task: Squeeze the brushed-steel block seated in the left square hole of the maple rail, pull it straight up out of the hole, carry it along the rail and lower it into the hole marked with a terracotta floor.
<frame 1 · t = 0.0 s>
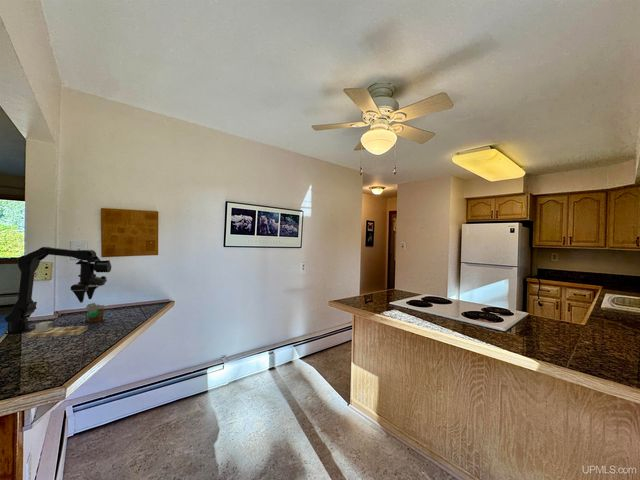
hand: (85, 300, 147), 15 cm above the table, tool pointing down, fingers open, 9 cm apart
rail: (58, 333, 136), on the table
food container: (92, 322, 158), on the table
nut block: (44, 334, 134), resting in rail
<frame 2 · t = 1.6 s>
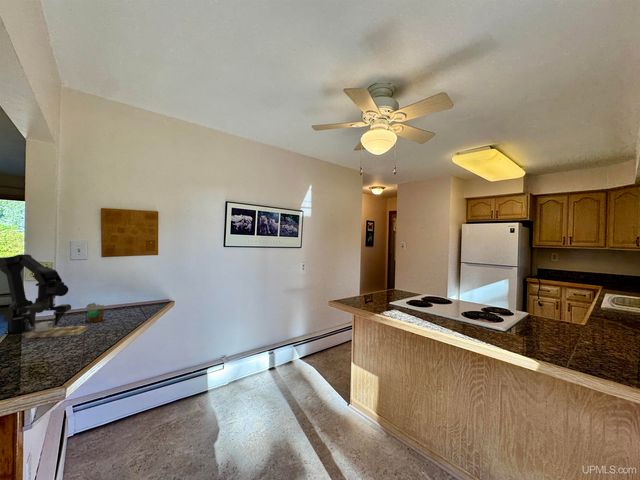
hand: (44, 326, 134), 4 cm above the table, tool pointing down, fingers open, 9 cm apart
nothing on the table moved.
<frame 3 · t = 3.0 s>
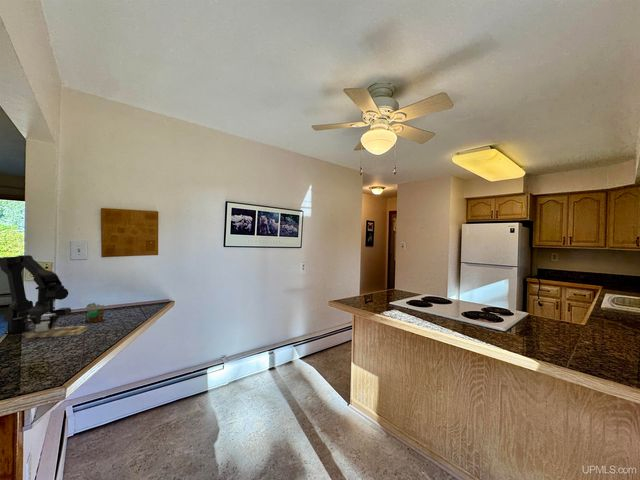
hand: (44, 329, 134), 3 cm above the table, tool pointing down, fingers closed on nut block, 5 cm apart
nut block: (44, 334, 134), resting in rail, touching gripper
everything else where it was.
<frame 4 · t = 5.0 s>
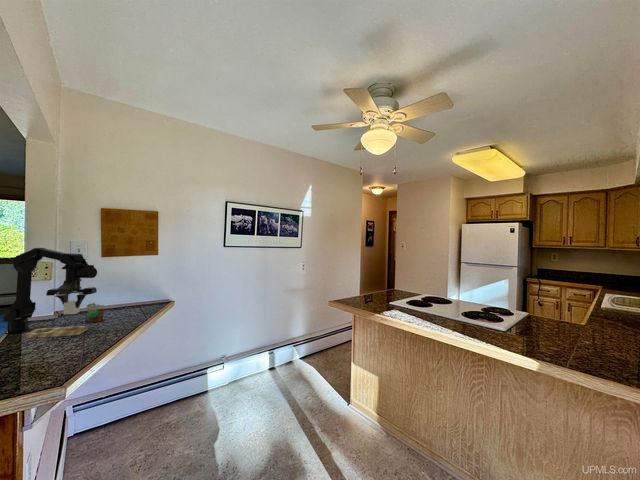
hand: (71, 308, 138), 13 cm above the table, tool pointing down, fingers closed on nut block, 5 cm apart
nut block: (71, 313, 138), point 10 cm above the table, touching gripper
everything else where it was.
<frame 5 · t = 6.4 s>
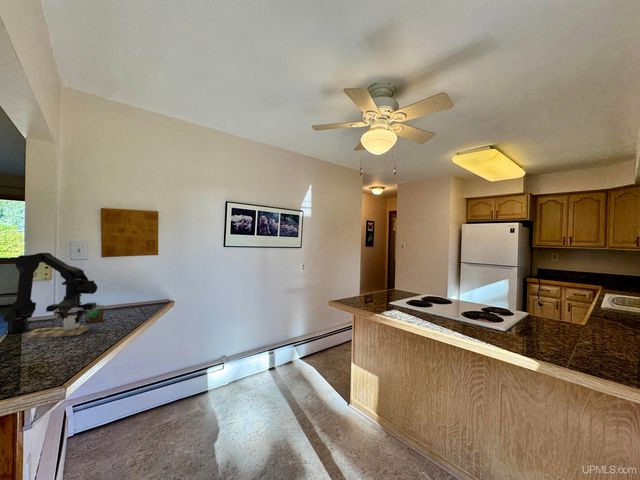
hand: (71, 323, 138), 5 cm above the table, tool pointing down, fingers closed on nut block, 5 cm apart
nut block: (71, 328, 137), point 2 cm above the table, touching gripper
everything else where it was.
when the fingers open (4 cm above the table, at t = 7.4 s): nut block stays where it is, resting on rail.
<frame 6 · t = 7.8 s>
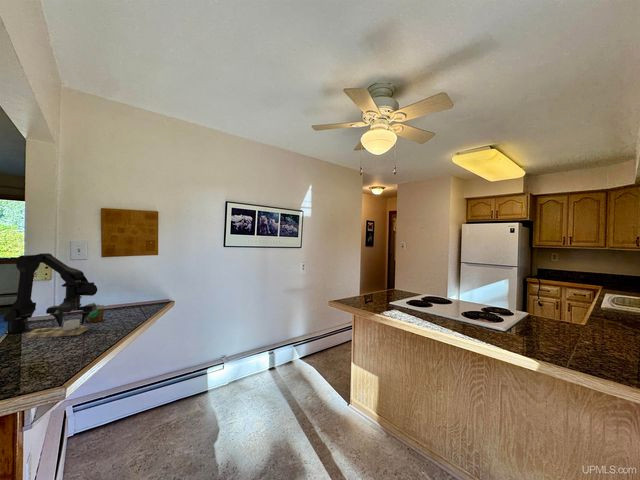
hand: (71, 325, 138), 4 cm above the table, tool pointing down, fingers open, 9 cm apart
nut block: (71, 332, 137), resting on rail
everything else where it was.
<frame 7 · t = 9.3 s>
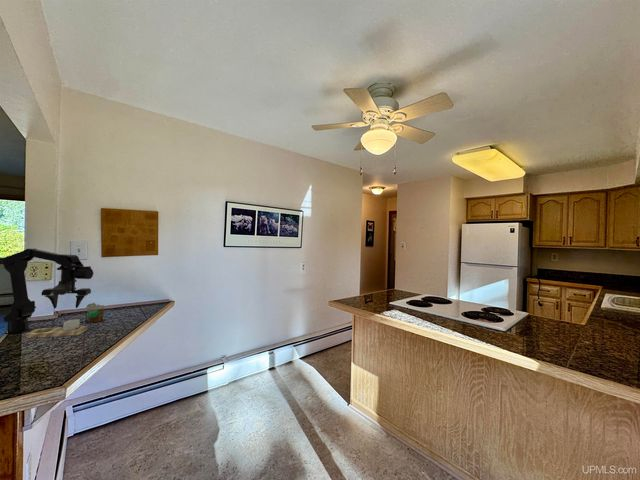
hand: (66, 308, 141), 12 cm above the table, tool pointing down, fingers open, 9 cm apart
nothing on the table moved.
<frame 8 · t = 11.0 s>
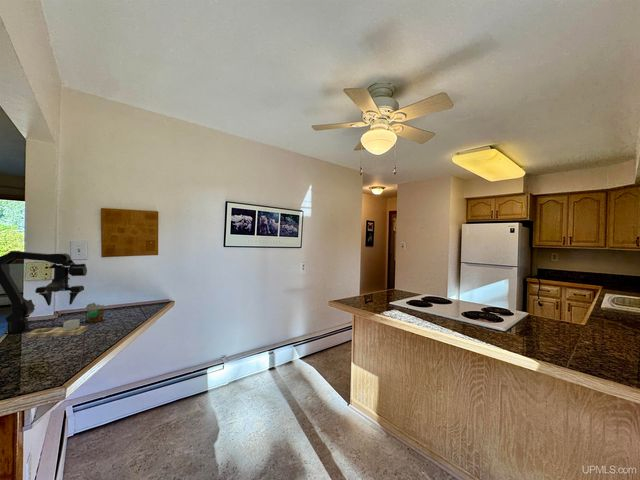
hand: (59, 305, 145), 13 cm above the table, tool pointing down, fingers open, 9 cm apart
nothing on the table moved.
at the end: nut block 0.1 cm from the target spot on the rail, point 0.2 cm above the rail's base; nut block tilted 0°; the gripper is holding nothing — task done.
